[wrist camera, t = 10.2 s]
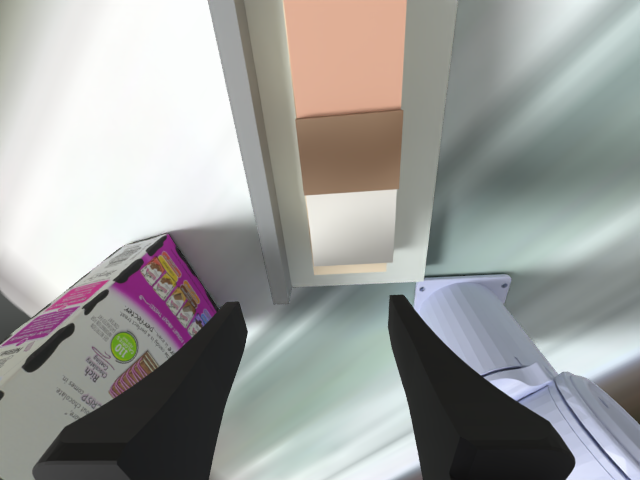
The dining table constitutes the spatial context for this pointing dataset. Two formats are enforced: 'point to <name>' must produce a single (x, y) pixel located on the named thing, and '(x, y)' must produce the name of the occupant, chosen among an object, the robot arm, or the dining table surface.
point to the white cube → (352, 227)
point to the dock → (282, 145)
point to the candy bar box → (94, 345)
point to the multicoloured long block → (349, 159)
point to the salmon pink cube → (346, 55)
